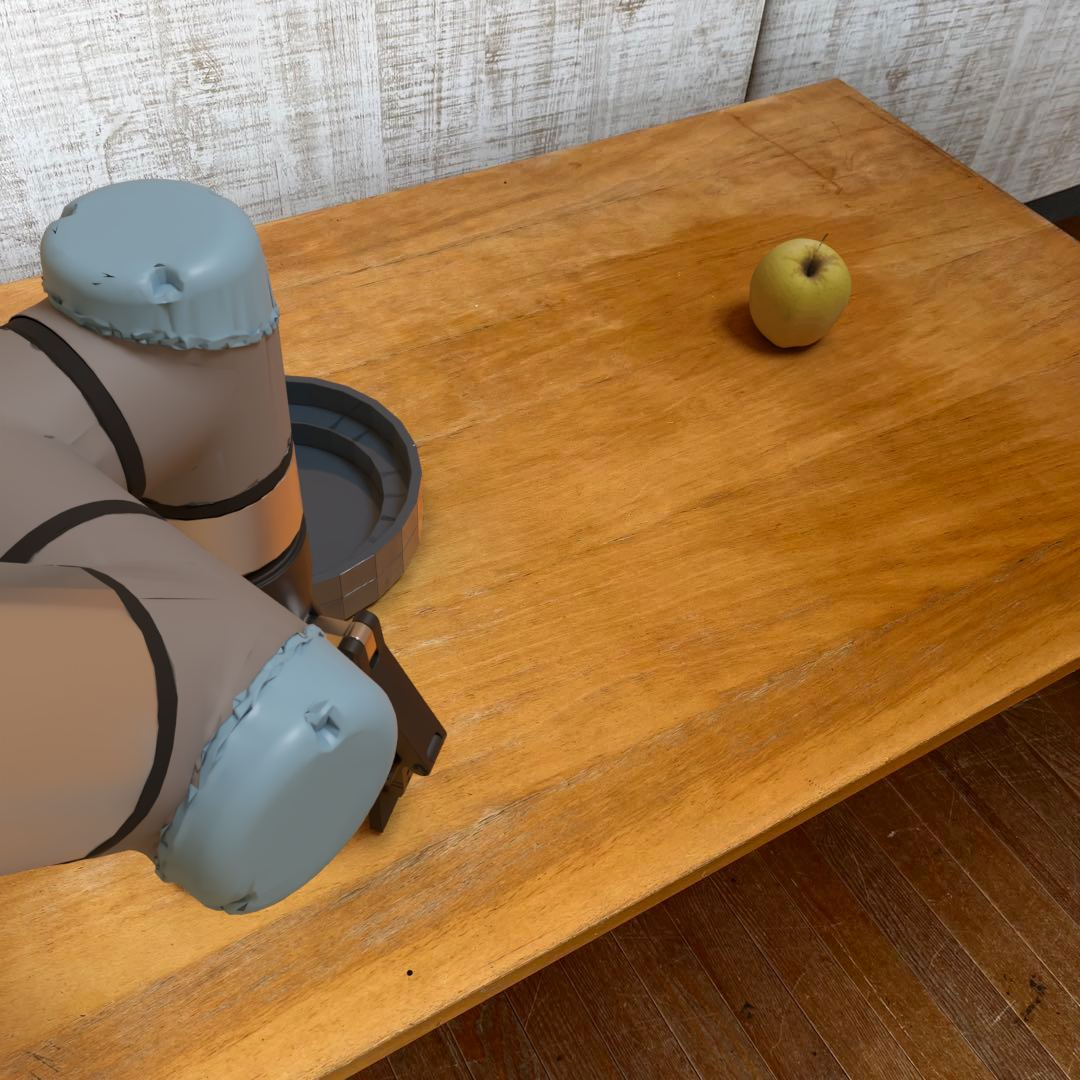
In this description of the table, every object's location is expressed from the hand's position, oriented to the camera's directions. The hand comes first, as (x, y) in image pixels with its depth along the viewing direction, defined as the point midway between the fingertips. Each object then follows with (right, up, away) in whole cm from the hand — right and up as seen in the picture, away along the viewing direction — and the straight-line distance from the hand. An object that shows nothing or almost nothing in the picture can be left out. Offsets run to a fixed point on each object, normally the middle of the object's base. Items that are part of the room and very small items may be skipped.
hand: (276, 775), depth 67 cm
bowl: (-3, +15, +13) cm, 20 cm away
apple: (+36, +31, +31) cm, 57 cm away
